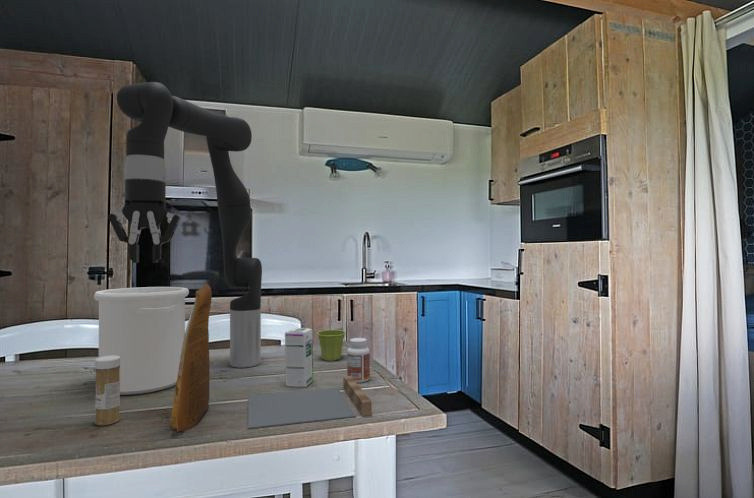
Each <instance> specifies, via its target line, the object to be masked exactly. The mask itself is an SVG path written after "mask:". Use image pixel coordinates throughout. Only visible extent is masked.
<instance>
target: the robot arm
mask: <svg viewBox="0 0 754 498" xmlns="http://www.w3.org/2000/svg"><path fill="white" fill-rule="evenodd" d="M116 94H117V95H116V103H117V107H118V108H119V109H120V111H121V112H122V113H123V114H124V115H125V116H126V117H128V118H130V119H132V120H134V121H137V122H140V124H139V125H136V126H135V127H132V128H130V129H128V131H126V140H125V152H126V153H125V165H124V173H123V175H124V176H123V178H124V206H122V209H121V211H118V212H116V213H109V214H108V215H107V218H108V220H109V222H110V224H111V226H112V229H113V230H114V233H115V234H116V236H117V239H118V240H119V242H123V243H126V244H128V245H129V259H130V261H132V263H133V264H138V263H140V244H138V243H139V239H140V234H141V232H142V230H143V229H149V230H150V234H151V237H152V242H153V244H152V249H151V250H152V252H151V253H152V255H151V256H152V257H151V259H152V263H154V264H157V263H159V261H160V260H161V259H162V245H163V244H166V243H168V242H171V240H172V239H173V236H174V235H175V231H176V230H177V228H178V226H179V223H180V221H181V216H180V215H178V214H173V213H171V212H169V210H168V208H167V204H166V201H167V200H166V198H167V197H166V193H167V192H166V190H167V189H166V186H167V185H166V182H167V181H166V172H167V171H166V164H165V139H166V137H167V134H168V130H169V128H170V129H174V130H177V131H179V132H183V133H187V134H191V135H196V136H203V137H205V138H206V139H205V140H206V145H207V150H208V154H209V158H210V162H211V167H212V170H213V171H212V172H213V179H214V184H215V190H216V191H215V192H216V203H217V210H218V219H219V224H220V230H221V231H220V232H221V238H222V253H223V255H222V257H223V274H224V275H223V276H224V280H225V283H226V285H227V286H228V287H230V288H248V291H247V293H245V294H244V295H242V296H240V297H237V298H234V299H232V300H231V301H230V303H229V366H230V367H232V368H250V367H251V368H252V367H255V366H258V365H261V363H262V359H261V357H262V356H261V355H262V354H261V351H262V349H261V348H262V347H261V346H262V344H261V341H262V340H261V339H262V338H261V337H262V335H261V333H262V327H261V326H262V323H261V321H262V318H261V317H262V313H261V312H262V311H261V307H262V305H261V303H262V280H263V279H262V278H263V277H262V276H263V266H262V262H261V259H259V258H258V257H238V256H237V247H238V245H239V243H240V240H241V238H242V236H243V235H244V233H245V231H246V229H247V228H248V226H249V224H250V222H251V219H252V207H251V198H250V195H249V191H248V189H247V188H246V187H245V185H244V184H243V182H242V180H241V179H240V178H239V176H238V175H237V173H236V172H235V170H234V168H233V165H232V163H231V162H232V161H231V159H230V154H229V152H235V153H236V152H243V151H245V150H247V149H248V148H249V147H250V145H251V143H252V139H253V138H252V137H253V136H252V129H251V127H250V125H249V124H248V122H247V121H246V120H244V119H243V118H239V117H236V116H235V117H233V116H232V117H231V116H228V115H223V114H219V113H216V112H214V111H211V110H209V109H205V108H203V107H201V106H198V105H197V104H194V103H192V102H189V101H188V100H186V99H183V98H181V97H178V96H175V95H172V94H171V92H170V90H169V89H168V87H167V86H165V85H164V84H163V83H161V82H157V81H149V82H140V83H133V84H127V85H126V84H125V85H124V86H121V88H120V89H119V90H118V91H117V93H116ZM124 218H125V219H126V220H127V221H128V222H129V223H130V228H129V229H130V230H129V236H128V234H127V232H126V229H125V228H124V226H123V222H124ZM166 218H167V220H166V221H167V223H168V226H167V229H166V230H165V233H164V235H163V236H162V235H161V229H160V225H161V224H162V223H163V221H164V220H165V219H166Z"/></svg>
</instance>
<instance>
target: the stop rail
mask: <svg viewBox="0 0 754 498" xmlns="http://www.w3.org/2000/svg"><path fill="white" fill-rule="evenodd" d="M342 379H343V381H342V382H343V386H342V388H343V390H344V391H345V393H346V394H347V396H348V397H349V399H350V400H351V401H352V403H353V405H354V406H355V408H356V409H357V410H358V412H359V413H360V415H361V416H362V417H369V416H372V413H373V411H372V407H373V405H372V403H373V402H372V401H371V399H370V398H369V396H368V395H367V394H366V393H365V392H364V390H363V389H362V388H361V386H360V385H359V384H358V383H356V382H355V380H354V379H353V378H352V377H351V376H347V375H346V376H342Z"/></svg>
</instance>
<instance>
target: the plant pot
mask: <svg viewBox="0 0 754 498" xmlns="http://www.w3.org/2000/svg"><path fill="white" fill-rule="evenodd" d="M316 335H317V337H318V339H319V345H320V346H319V347H320V351H321V352H320V353H321V359H322V360H324V361H327V362H335V361H336V360H338V361H339V360H341V359H342V352H343V351H342V350H343V344H344V339H345V335H346V331H345V330H341V329H325V330H320V331H318V332H316Z"/></svg>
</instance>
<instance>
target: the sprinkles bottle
mask: <svg viewBox="0 0 754 498" xmlns="http://www.w3.org/2000/svg"><path fill="white" fill-rule="evenodd" d="M120 364H121V360H120V356H116V355H110V356H103V357H99V356H98V357H96V358H95V359H94V368H95V399H94V407H95V419H94V424H95V425H96V426H102V427H103V426H109V425H112V424H116V423H117V422H119V421H120V420H121V417H120V404H121V403H120V400H121V399H120V398H121V395H120V375H119V374H120V369H119V368H120Z"/></svg>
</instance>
